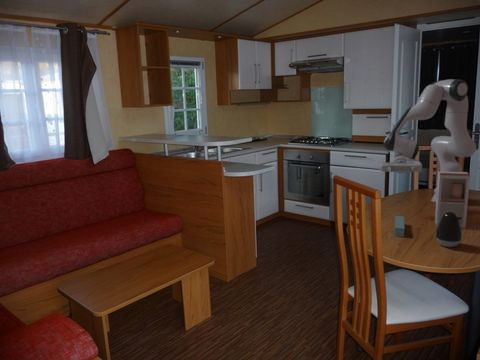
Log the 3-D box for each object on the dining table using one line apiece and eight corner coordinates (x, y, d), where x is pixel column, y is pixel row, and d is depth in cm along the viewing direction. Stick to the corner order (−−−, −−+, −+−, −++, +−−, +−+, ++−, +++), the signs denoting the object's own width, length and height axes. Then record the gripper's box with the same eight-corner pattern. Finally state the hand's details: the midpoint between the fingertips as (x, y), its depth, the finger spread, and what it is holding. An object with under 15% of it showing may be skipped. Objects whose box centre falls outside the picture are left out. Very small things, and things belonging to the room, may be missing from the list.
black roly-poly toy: (451, 251, 175) (453, 217, 172) (430, 243, 184) (432, 211, 181) (466, 246, 179) (469, 213, 176) (445, 239, 188) (447, 207, 185)
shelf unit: (434, 220, 214) (438, 169, 209) (462, 222, 210) (467, 170, 204) (436, 225, 206) (439, 173, 200) (465, 227, 202) (470, 173, 196)
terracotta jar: (449, 197, 207) (451, 182, 206) (461, 198, 206) (462, 182, 204) (451, 200, 203) (452, 184, 201) (462, 201, 201) (463, 185, 199)
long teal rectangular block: (403, 224, 211) (403, 216, 210) (403, 237, 193) (404, 228, 192) (395, 224, 212) (395, 215, 211) (394, 236, 195) (395, 227, 194)
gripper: (380, 159, 226) (379, 164, 214) (421, 159, 219) (422, 164, 207) (380, 170, 228) (379, 176, 215) (420, 170, 221) (422, 176, 208)
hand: (401, 170), depth 211 cm, fingers open, 8 cm apart
